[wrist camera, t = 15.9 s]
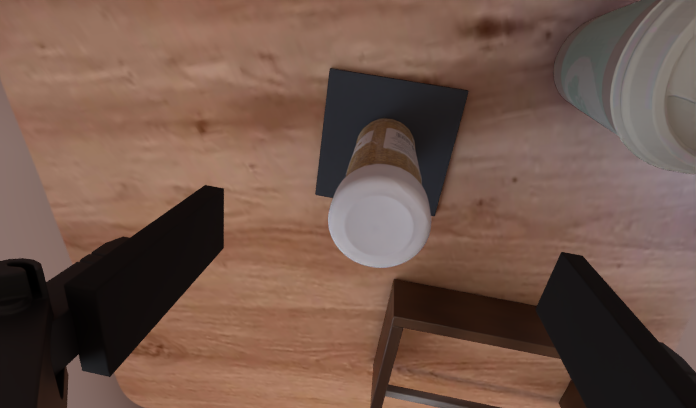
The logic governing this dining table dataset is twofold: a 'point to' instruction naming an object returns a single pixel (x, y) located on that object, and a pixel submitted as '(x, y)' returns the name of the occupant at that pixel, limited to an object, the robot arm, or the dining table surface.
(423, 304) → the spice rack
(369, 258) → the spice jar
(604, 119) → the coffee cup
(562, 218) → the dining table surface
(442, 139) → the mat
